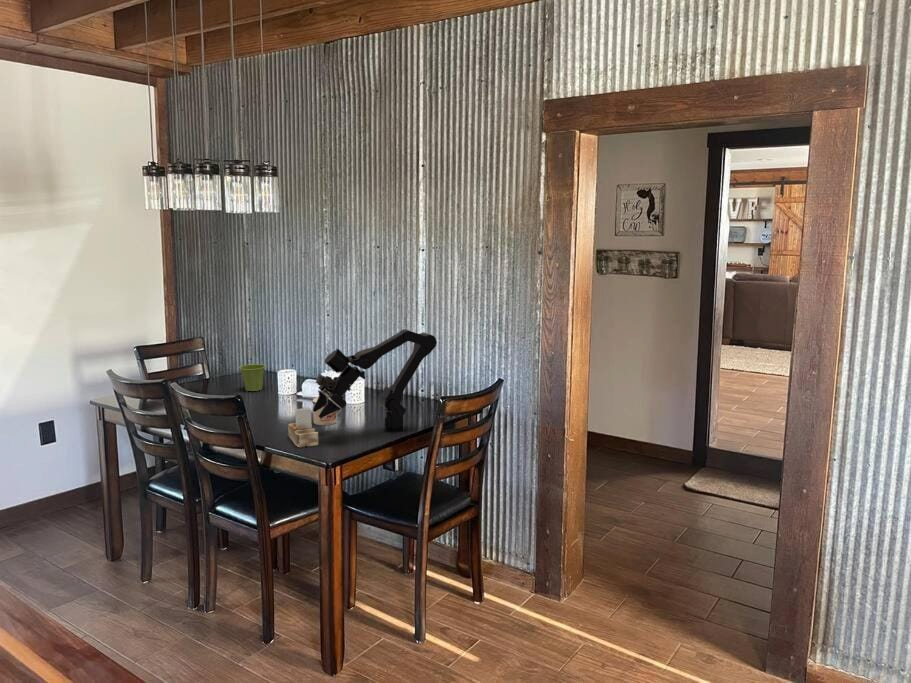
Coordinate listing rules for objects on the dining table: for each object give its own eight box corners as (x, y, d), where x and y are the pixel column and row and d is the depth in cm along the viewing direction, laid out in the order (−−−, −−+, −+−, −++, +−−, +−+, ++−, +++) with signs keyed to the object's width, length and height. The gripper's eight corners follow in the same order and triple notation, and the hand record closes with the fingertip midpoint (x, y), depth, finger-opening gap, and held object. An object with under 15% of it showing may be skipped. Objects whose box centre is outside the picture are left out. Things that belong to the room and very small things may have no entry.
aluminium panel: (310, 434, 258) (309, 407, 257) (311, 436, 256) (310, 409, 254) (296, 436, 256) (295, 409, 255) (297, 438, 254) (296, 410, 252)
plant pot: (240, 388, 337) (238, 365, 335) (266, 386, 341) (265, 363, 339) (240, 394, 326) (239, 369, 324) (267, 392, 330) (266, 368, 328)
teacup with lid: (321, 427, 273) (319, 397, 271) (308, 422, 279) (307, 393, 278) (347, 421, 281) (346, 392, 279) (335, 416, 287) (334, 388, 285)
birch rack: (308, 433, 264) (308, 419, 264) (318, 445, 251) (317, 430, 250) (288, 436, 262) (287, 421, 261) (297, 447, 248) (296, 432, 247)
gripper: (322, 362, 264) (294, 394, 262) (335, 371, 248) (305, 406, 245) (344, 380, 269) (316, 413, 266) (358, 391, 252) (329, 425, 250)
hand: (316, 414), depth 257 cm, fingers open, 9 cm apart
